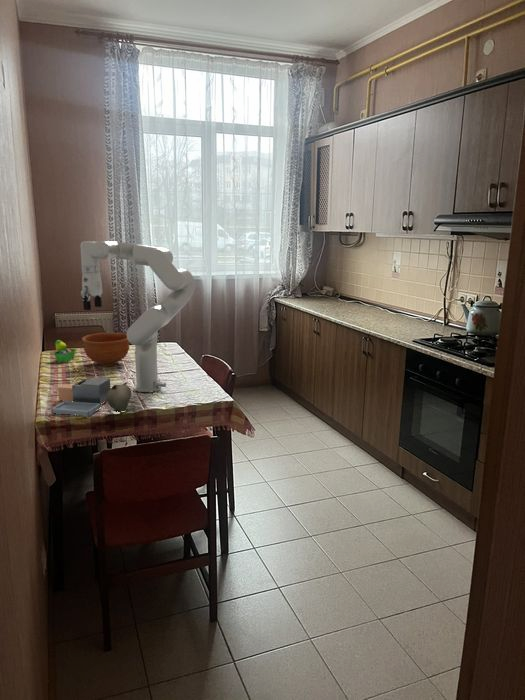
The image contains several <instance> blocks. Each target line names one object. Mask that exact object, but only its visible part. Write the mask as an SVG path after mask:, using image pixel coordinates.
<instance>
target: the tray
mask: <svg viewBox="0 0 525 700" xmlns="http://www.w3.org/2000/svg"><path fill="white" fill-rule="evenodd" d="M100 407H101V408H102V405H101V404H99V403H85V402H72V401H62V402H61V403H59V404H57V405H56V406H54V407H52V408H51V409H50V411H51V412H50V413H56V414H55V415H61V414H71V415H70V416H74V415H75V414H76V415H85V416H84V417H87V416H89V417H91V416H92V415H93V414H92V413H94V412H95V411H96V410H97V409H99V408H100ZM95 413H96V412H95ZM95 413H94V414H95ZM91 414H92V415H91ZM90 415H91V416H90Z"/></svg>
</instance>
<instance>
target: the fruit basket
mask: <svg viewBox="0 0 525 700" xmlns="http://www.w3.org/2000/svg"><path fill="white" fill-rule="evenodd" d="M55 349H56V351H55V352H53V355H54V357H55V359H56V360H55V361H57V363H67V362H70V361H72V360H74V359H75V354H76V351H77V349H76V348H67V344H66V343H65V342H63V341H62V340H60V339H57V340H56V341H55ZM73 358H74V359H73ZM71 359H72V360H71Z"/></svg>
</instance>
